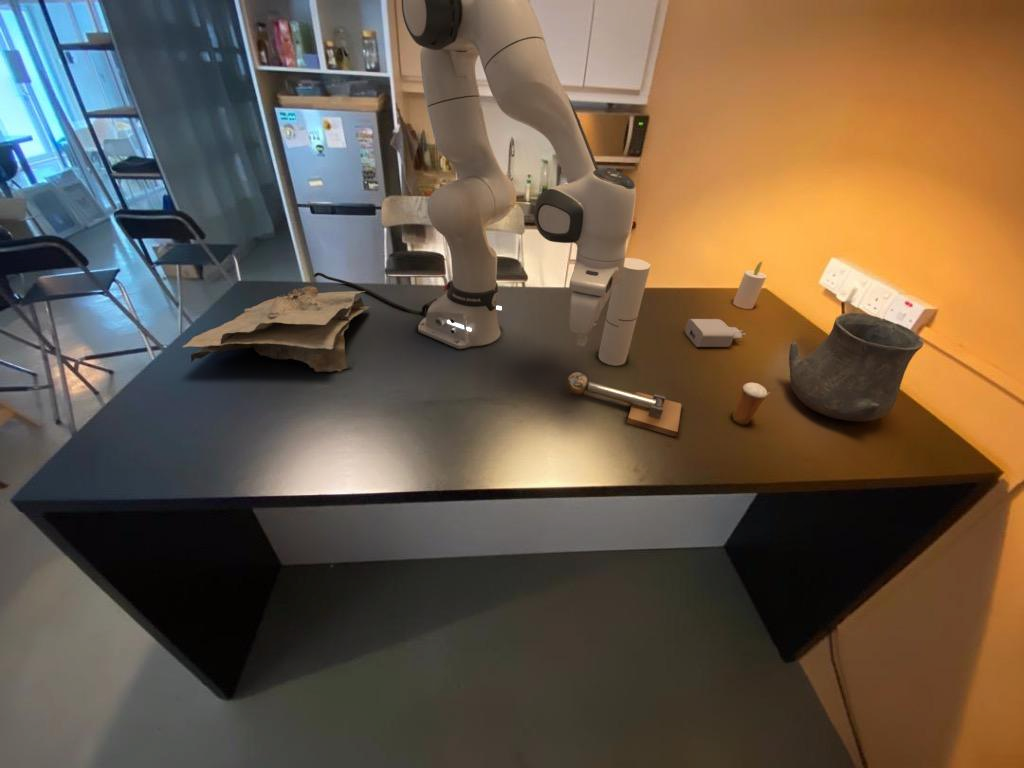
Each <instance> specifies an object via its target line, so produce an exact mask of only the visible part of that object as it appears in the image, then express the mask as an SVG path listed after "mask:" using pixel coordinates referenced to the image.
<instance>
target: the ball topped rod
mask: <svg viewBox="0 0 1024 768" xmlns="http://www.w3.org/2000/svg"><path fill="white" fill-rule="evenodd" d="M565 381H566V382H565V386H566V389H567V390H568V392H570V393H571V394H573V395H578V396H579V395H582V394H584V393H586V392H588V393H592V394H596V395H598V396H602V397H605V398H606V397H607V398H610V399H613V400H617V401H621V402H625V403H628V404H631V405H632V404H635V405H638V406H642V407H645V408H649V409H651V405H654V406H657V407H661V408H662V405H663V401H662V399H660V398H655V399H652V398H648V397H644V396H641V395H637V394H635V393H633V392H629V391H626V390H623V389H619V388H615V387H611V386H607V385H603V384H600V383H596V382H592V381H589V378H588V376H587V375H586V374H585V373H583V372H579V371H576V372H572V373H570V374H569V375H568V377H567V378H566V380H565Z"/></svg>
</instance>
